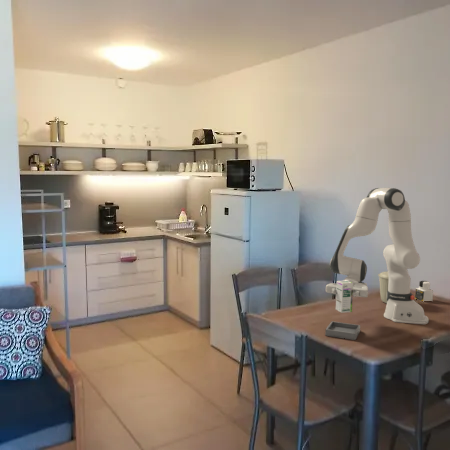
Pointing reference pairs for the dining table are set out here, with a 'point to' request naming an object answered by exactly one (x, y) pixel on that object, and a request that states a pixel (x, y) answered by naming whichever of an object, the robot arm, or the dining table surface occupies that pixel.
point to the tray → (342, 330)
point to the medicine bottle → (424, 291)
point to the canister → (383, 285)
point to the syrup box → (344, 296)
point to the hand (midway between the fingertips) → (344, 293)
